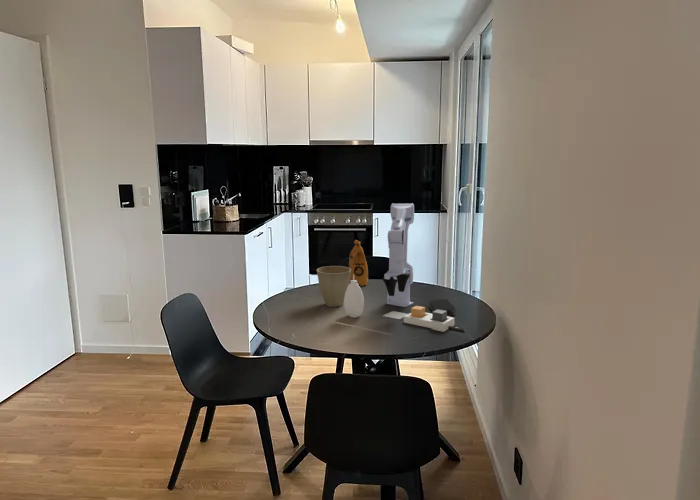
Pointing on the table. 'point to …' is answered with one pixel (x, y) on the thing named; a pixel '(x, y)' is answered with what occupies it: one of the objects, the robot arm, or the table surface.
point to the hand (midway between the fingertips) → (396, 293)
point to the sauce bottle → (354, 299)
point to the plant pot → (333, 284)
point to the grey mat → (395, 315)
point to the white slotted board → (431, 322)
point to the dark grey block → (439, 315)
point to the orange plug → (418, 311)
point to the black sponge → (442, 306)
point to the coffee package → (358, 265)
